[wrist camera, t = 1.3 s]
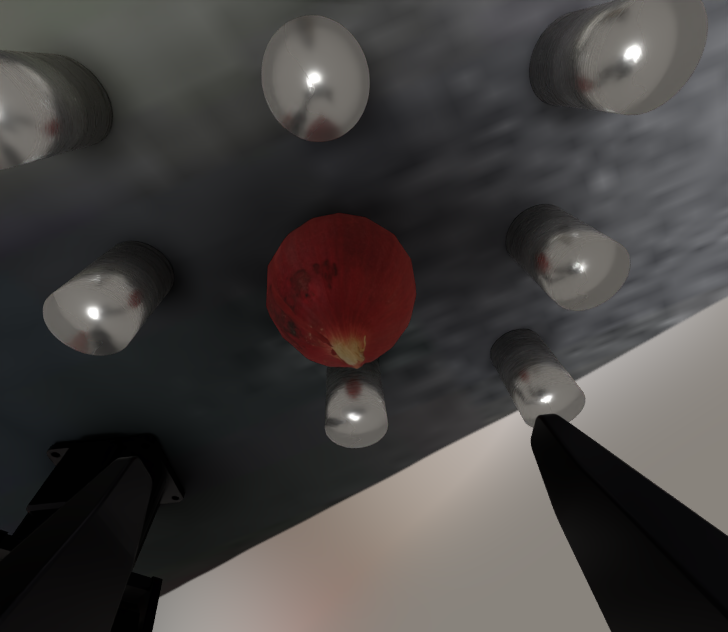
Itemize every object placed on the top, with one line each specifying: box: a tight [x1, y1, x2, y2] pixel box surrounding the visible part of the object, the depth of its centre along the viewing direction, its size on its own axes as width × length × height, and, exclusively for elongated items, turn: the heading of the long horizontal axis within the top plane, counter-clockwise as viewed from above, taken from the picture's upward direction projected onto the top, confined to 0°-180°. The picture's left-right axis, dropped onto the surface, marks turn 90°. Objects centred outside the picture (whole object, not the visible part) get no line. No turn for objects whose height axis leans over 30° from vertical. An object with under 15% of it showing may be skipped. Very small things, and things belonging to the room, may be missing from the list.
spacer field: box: [0, 0, 708, 448], centre depth 16 cm, size 17×22×4 cm
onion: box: [266, 213, 416, 369], centre depth 15 cm, size 6×6×8 cm
